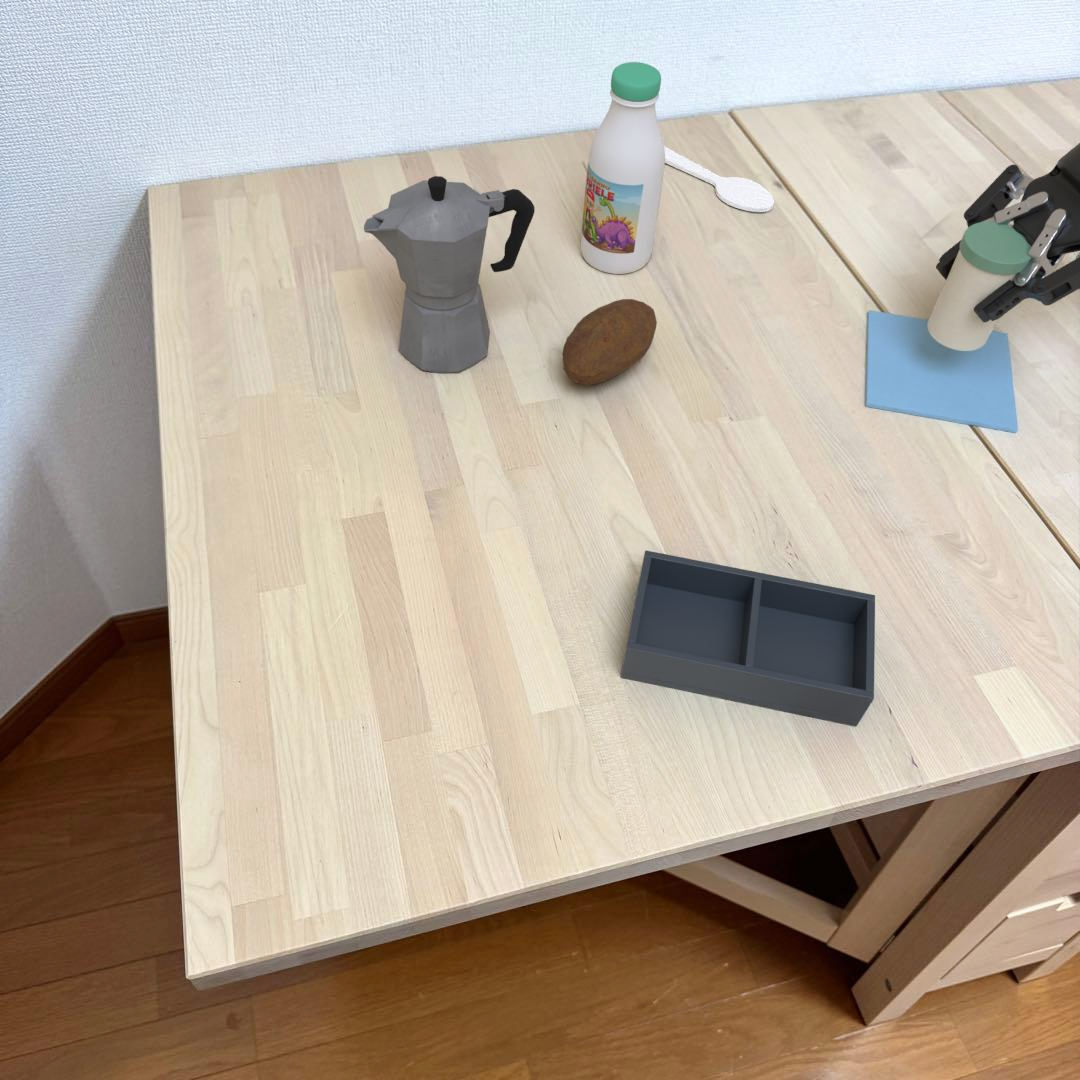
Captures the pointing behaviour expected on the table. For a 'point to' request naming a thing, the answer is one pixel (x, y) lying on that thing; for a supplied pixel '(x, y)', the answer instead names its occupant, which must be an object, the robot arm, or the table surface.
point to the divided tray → (752, 638)
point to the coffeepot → (446, 266)
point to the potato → (609, 341)
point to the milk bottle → (625, 174)
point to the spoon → (726, 185)
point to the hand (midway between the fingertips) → (959, 293)
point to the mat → (938, 374)
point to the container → (976, 283)
